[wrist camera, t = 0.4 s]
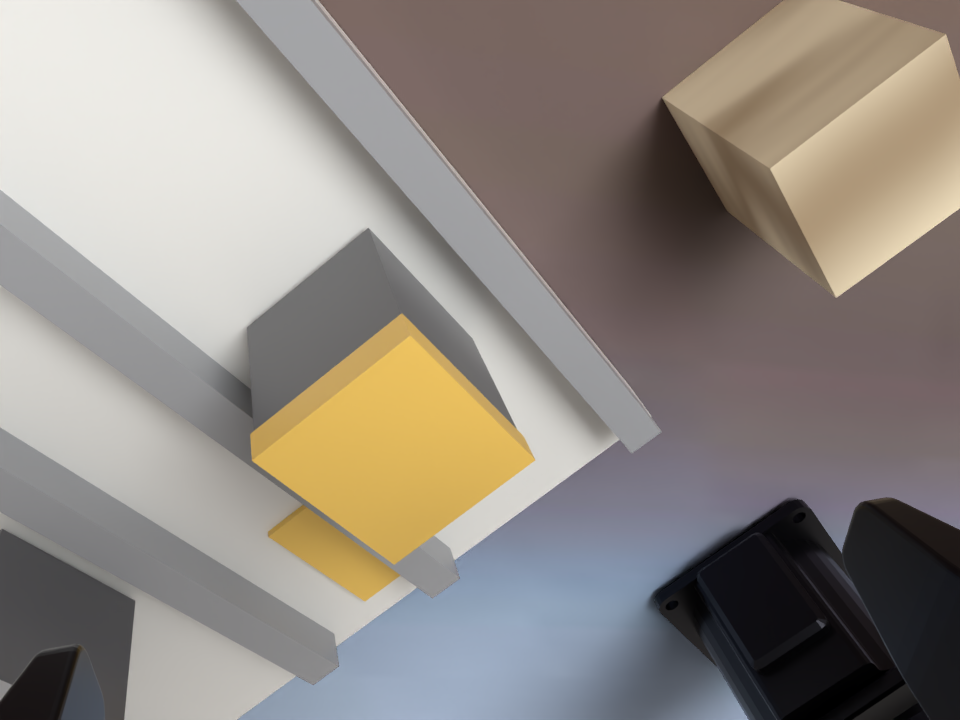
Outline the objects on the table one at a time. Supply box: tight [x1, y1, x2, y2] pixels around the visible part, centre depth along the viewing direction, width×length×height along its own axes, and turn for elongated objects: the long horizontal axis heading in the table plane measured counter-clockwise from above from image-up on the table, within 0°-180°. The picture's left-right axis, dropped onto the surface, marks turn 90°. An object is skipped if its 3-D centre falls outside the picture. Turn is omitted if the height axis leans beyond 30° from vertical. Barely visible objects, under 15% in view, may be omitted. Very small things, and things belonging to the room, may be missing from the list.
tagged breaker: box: [247, 228, 535, 565], centre depth 18 cm, size 4×4×5 cm
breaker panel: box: [0, 0, 662, 720], centre depth 21 cm, size 18×20×3 cm
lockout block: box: [662, 0, 960, 298], centre depth 20 cm, size 4×4×5 cm
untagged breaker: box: [0, 529, 135, 720], centre depth 20 cm, size 4×4×5 cm
